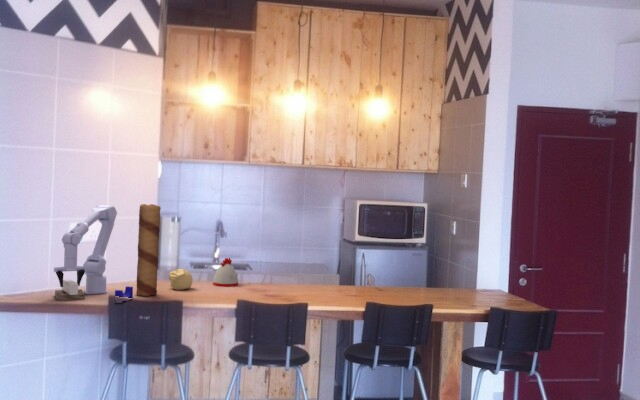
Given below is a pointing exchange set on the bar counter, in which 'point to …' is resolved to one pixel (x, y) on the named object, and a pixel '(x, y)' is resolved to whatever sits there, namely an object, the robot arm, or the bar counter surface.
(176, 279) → the sculpture
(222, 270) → the pompom beanie hat
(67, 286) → the bar
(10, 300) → the bar counter surface
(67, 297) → the brown square tray
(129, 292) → the cable clip
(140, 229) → the wafer roll
